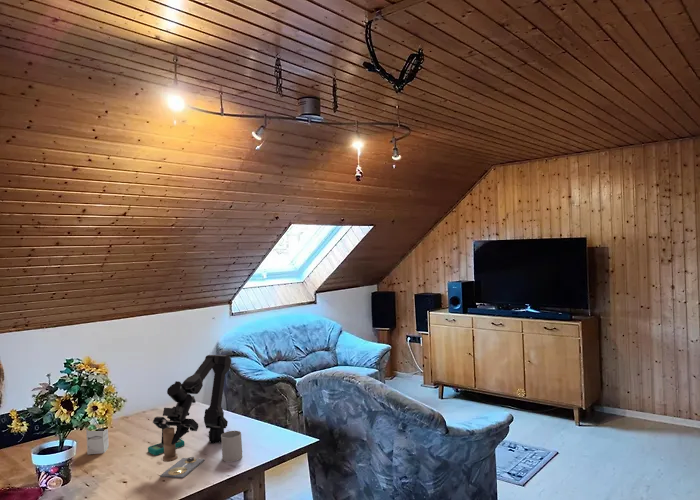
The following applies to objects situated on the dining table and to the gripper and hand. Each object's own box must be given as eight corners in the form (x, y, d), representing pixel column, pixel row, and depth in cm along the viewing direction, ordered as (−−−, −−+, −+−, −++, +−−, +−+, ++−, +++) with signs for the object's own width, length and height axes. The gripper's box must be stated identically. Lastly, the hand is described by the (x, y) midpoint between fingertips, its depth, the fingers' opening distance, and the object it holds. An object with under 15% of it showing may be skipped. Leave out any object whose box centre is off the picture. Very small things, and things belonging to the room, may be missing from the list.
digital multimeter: (186, 446, 242) (185, 439, 242) (155, 456, 231) (154, 450, 231) (177, 442, 247) (177, 436, 247) (147, 452, 236) (146, 446, 236)
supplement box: (86, 455, 236) (85, 427, 236) (92, 449, 243) (90, 421, 243) (104, 453, 237) (102, 425, 237) (109, 447, 244) (107, 420, 244)
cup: (224, 463, 220) (223, 439, 219) (220, 456, 227) (218, 433, 227) (244, 458, 223) (243, 435, 223) (239, 452, 231) (238, 429, 231)
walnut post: (176, 454, 217) (174, 425, 217) (178, 459, 212) (177, 429, 212) (161, 458, 214) (160, 428, 214) (164, 463, 210) (162, 432, 209)
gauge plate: (183, 459, 226) (182, 455, 226) (204, 460, 224) (204, 456, 224) (160, 476, 209) (159, 472, 209) (182, 478, 207) (182, 474, 207)
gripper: (154, 397, 220) (137, 433, 209) (192, 399, 214) (177, 436, 204) (167, 410, 227) (151, 445, 217) (205, 412, 221) (190, 448, 211)
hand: (167, 443), depth 212 cm, fingers closed on walnut post, 4 cm apart
